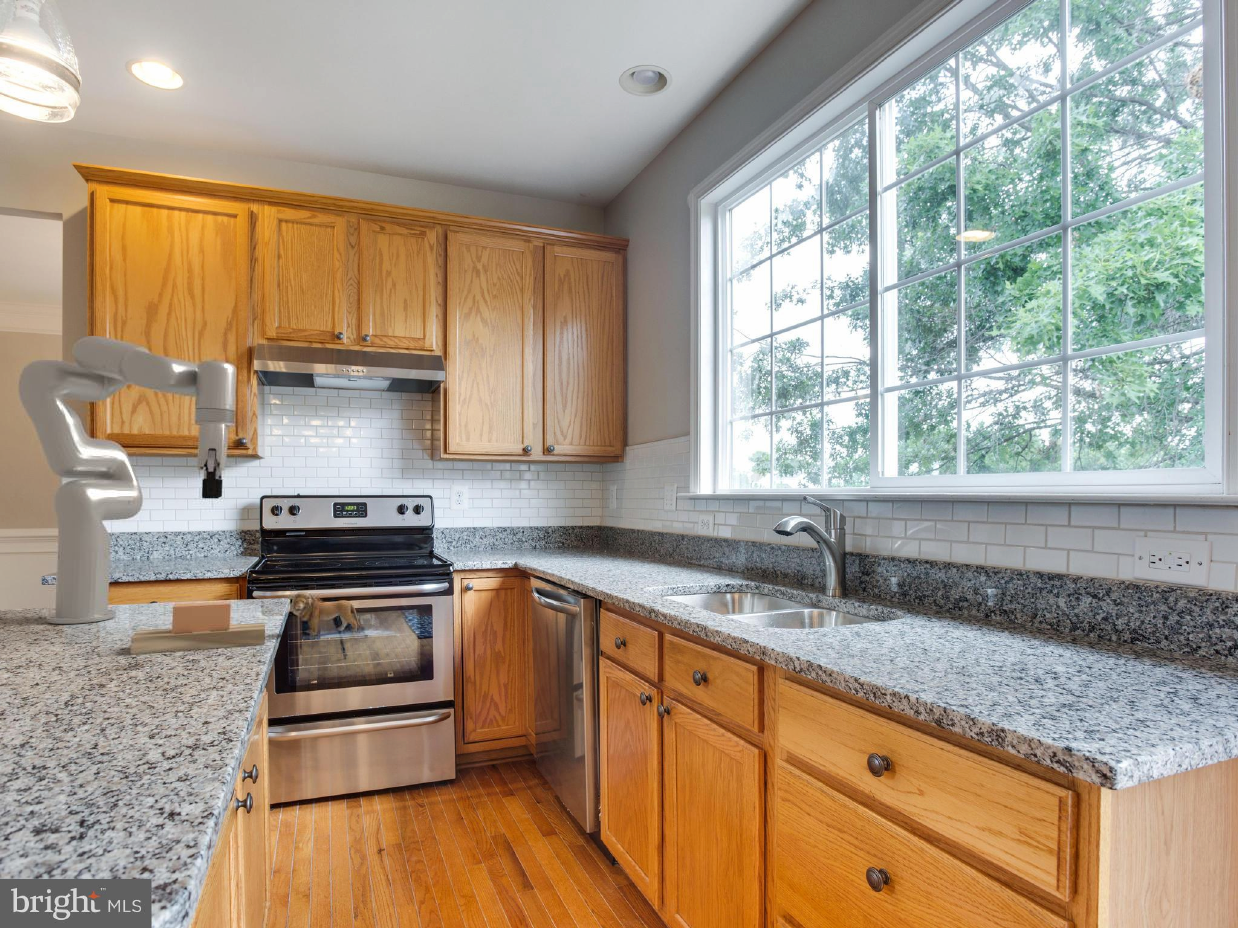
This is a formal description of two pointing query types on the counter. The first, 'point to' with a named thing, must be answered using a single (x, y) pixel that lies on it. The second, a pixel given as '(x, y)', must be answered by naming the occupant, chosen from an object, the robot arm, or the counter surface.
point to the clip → (201, 617)
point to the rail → (197, 639)
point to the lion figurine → (323, 611)
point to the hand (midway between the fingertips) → (212, 497)
